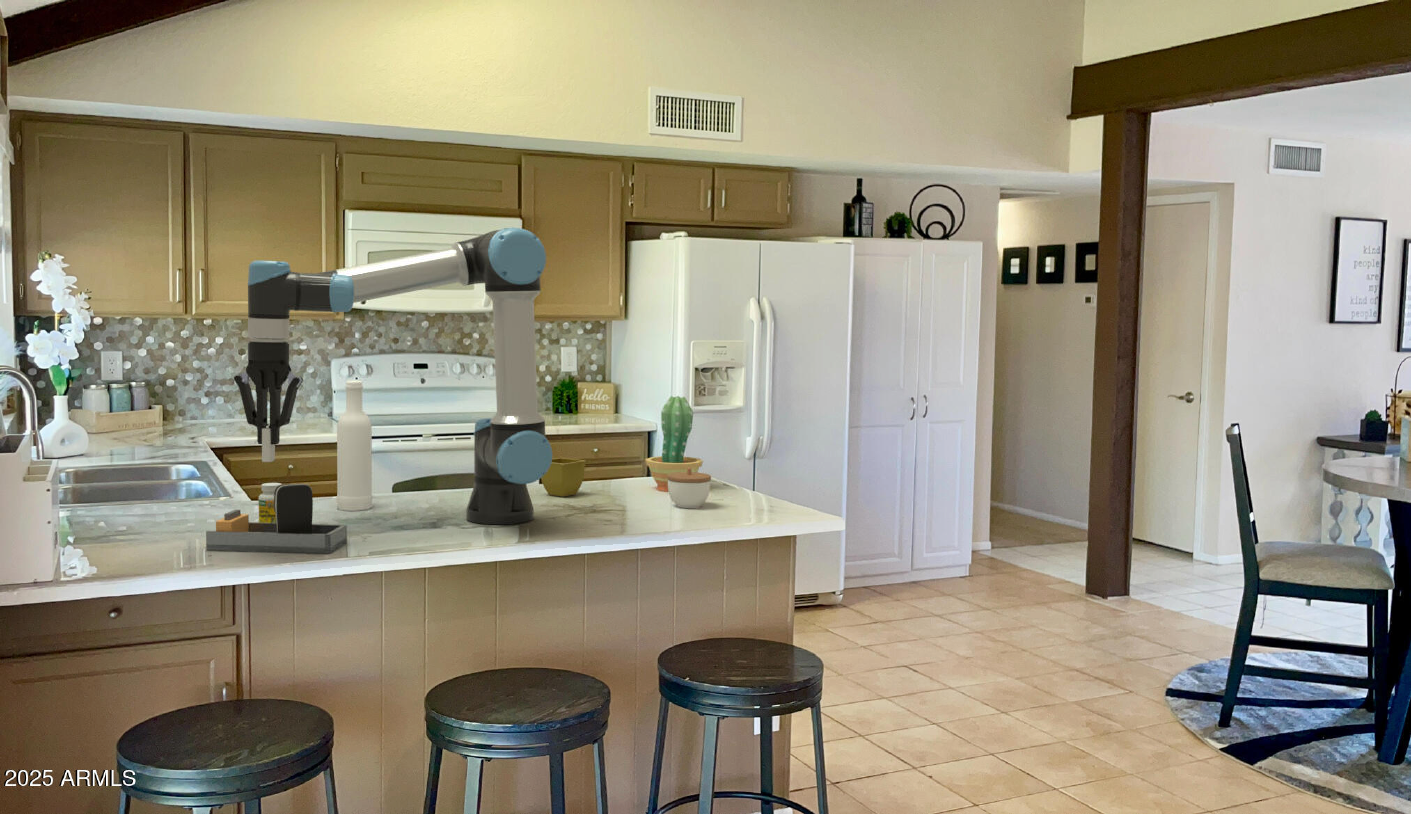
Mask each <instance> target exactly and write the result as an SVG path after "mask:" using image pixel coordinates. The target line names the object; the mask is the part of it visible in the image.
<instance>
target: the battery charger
mask: <svg viewBox="0 0 1411 814" xmlns="http://www.w3.org/2000/svg"><path fill="white" fill-rule="evenodd" d="M313 498H314V497H313V489H312V487H311V486H310V485H309V484H306V483H297V482H296V483H285V484H282V485H279V486H277V487H276V489H275V492H274V511H275V513H276V533H304V534H312V524H313V514H314V513H313V511H314V508H313V507H314V505H313V504H314V503H313V501H314V500H313Z"/></svg>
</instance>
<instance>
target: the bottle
mask: <svg viewBox="0 0 1411 814" xmlns="http://www.w3.org/2000/svg"><path fill="white" fill-rule="evenodd" d="M363 388H364V386H363V381H362V380H354V379H353V380H346V382H345V400H346V401H345V402H346V403H345V405H346V407H345V408H346V409H345V411H344V412H343V413H342V414H341V415H340V416H339V419H338V421H337V425H336V430H337V431H336V440H337V441H336V443H337V444H336V447H337V448H336V451H337V453H336V454H337V455H336V457H337V459H336V463H337V465H336V467H337V469H336V473H337V474H336V476H337V478H336V479H337V485H336V487H337V493H336V494H337V495H336V502H337V509H338V510H339V511H344V512H360V511H367V510H370V509H372V507H373V504H372V503H373V493H372V491H373V485H372V482H373V481H372V480H373V477H372V475H373V474H372V473H373V472H372V468H373V466H372V464H373V462H372V461H373V460H372V459H373V457H372V456H373V455H372V450H373V449H372V448H373V447H372V445H373V444H372V443H373V442H372V441H373V440H372V437H373V436H372V432H373V431H372V427H373V426H372V423H371V420H370V417H369V416H368V415H367V414H366V413H365V412H364V411H363V390H364V389H363Z"/></svg>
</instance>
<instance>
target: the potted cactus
mask: <svg viewBox="0 0 1411 814" xmlns="http://www.w3.org/2000/svg"><path fill="white" fill-rule="evenodd" d="M660 417H661V419H660V420H661V422H660V423H661V424H660V425H661V430H662V435H663V438H662V439H663V440H662V450H661V455H660V456H653V457H649V458H645V465H646V466H647V467H648V468H649V470H650V474H651V477H652V478H653V480H654V482H655V483H656V484H657V486H656V490H658V491H659V492H660V491H661V492H665V493H666V492H668V479H667V475H668V474H670V473H676V472H687V469H688V468H691V472H697V473H699V469H700V468H702V466H703V462H704V460H702V459H701V458H698V457H697V458H696V457H691V456H685V451H686V447H687V443H688V438H689V436H690V433H691V431H692V428H693V418H694V411H693V408H692V407H691V406H690V404H689V402H688V400H687V399H686V396H682V397H680V396H675V397H674V396H672V395H671V396H670V397H669V398H668V400H667V401H666V402H665V404H664V405H663V407H662V410H661V412H660ZM668 493H669V492H668Z"/></svg>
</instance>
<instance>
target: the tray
mask: <svg viewBox="0 0 1411 814" xmlns="http://www.w3.org/2000/svg"><path fill="white" fill-rule="evenodd" d="M347 527H348V525H347V524H330V523H329V524H327V523H326V524H323V523H312V534H304V533H276V523H259V521H258V522H251V521H249V532H234V531H216V530H206V531H205V543H206V544H205V548H206V549H205V550H206V551H214V552H215V551H217V552H218V551H220V552H221V551H222V552H252V553H253V552H254V553H257V552H258V553H282V554H283V553H285V554H287V553H288V554H292V553H293V554H316V555H317V554H321V555H322V554H325V555H329V554H331V553H333V552H335V551H336V550H338V549H340V548H341V547H343V546H344V545H346V544H347V543H348V541H347V540H348V537H347V536H348V533H347V531H348V529H347Z"/></svg>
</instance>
